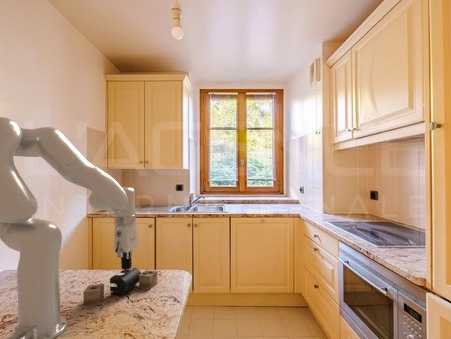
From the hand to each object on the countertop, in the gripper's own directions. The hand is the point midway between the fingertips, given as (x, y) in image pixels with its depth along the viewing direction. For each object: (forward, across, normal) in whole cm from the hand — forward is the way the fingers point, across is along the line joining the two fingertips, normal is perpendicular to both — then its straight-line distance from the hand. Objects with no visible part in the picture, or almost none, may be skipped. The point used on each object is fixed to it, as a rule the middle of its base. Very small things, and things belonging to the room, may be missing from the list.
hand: (126, 268), depth 96 cm
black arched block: (+8, 0, 0) cm, 8 cm away
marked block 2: (+8, +4, -7) cm, 11 cm away
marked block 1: (+8, -9, +7) cm, 14 cm away
